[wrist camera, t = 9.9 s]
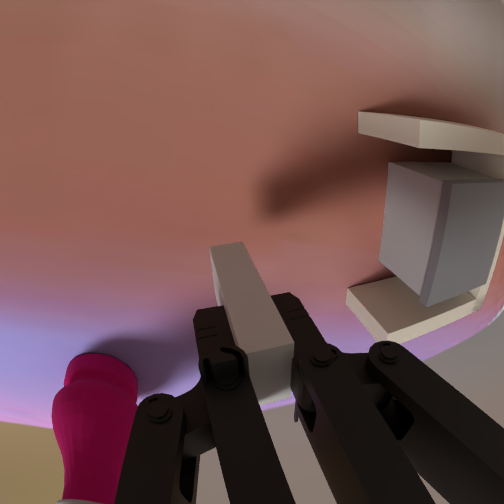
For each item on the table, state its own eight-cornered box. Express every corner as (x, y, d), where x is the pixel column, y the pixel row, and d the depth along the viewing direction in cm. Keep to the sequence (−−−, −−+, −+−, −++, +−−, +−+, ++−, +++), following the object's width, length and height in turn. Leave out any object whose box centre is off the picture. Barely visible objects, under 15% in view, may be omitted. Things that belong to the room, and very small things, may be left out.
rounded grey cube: (385, 159, 20) (452, 183, 15) (450, 159, 22) (510, 182, 16) (375, 262, 24) (426, 307, 18) (436, 249, 26) (485, 283, 20)
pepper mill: (143, 352, 22) (172, 624, 5) (143, 406, 25) (170, 616, 8) (55, 342, 20) (20, 599, 3) (69, 398, 23) (61, 603, 5)
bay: (358, 111, 18) (419, 119, 13) (463, 123, 20) (518, 137, 15) (345, 303, 25) (383, 349, 20) (440, 276, 27) (480, 308, 22)
